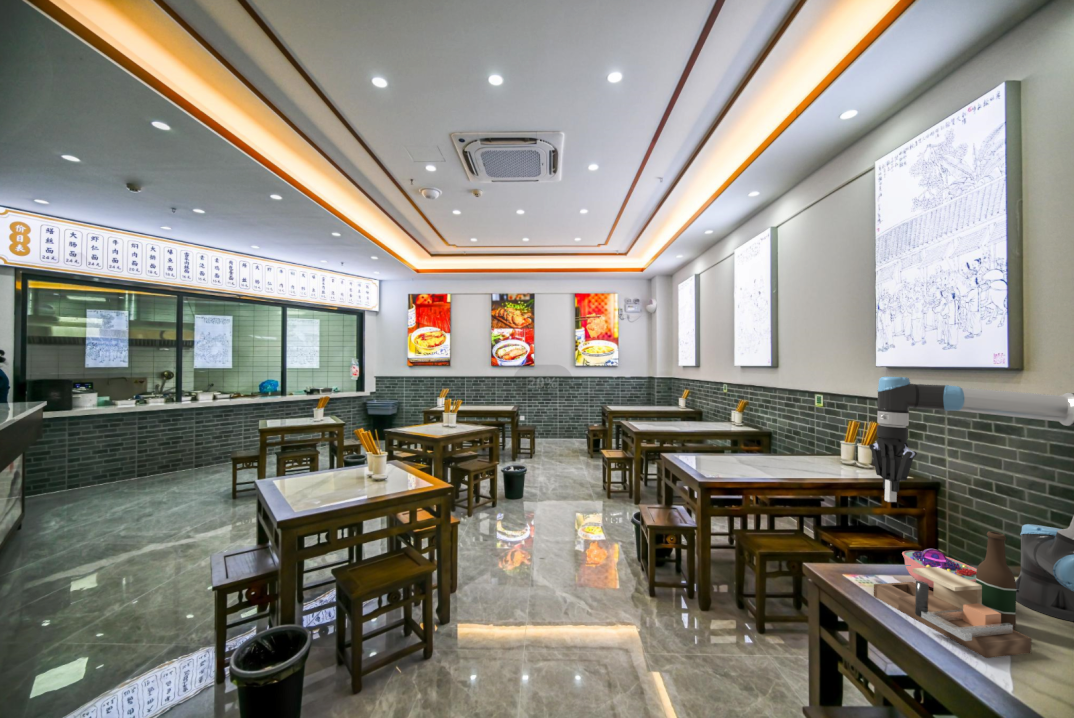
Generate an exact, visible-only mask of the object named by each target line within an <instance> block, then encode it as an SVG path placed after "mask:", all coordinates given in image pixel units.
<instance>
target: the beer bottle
mask: <svg viewBox="0 0 1074 718" xmlns="http://www.w3.org/2000/svg"><path fill="white" fill-rule="evenodd" d="M986 536H987V544H986V546H987V547H986V554H985V557H984V560H982V561H981V562H980V563H979V564H978V565H977V567H976V569H977V572H976V583H978V584H980V585H982V605H983V606H986V607H988V608H990V609H992V610H994V611H997V612H999V613H1001V623H1010V624H1012V625H1013V630H1015V631H1016V624H1017V623H1016V622H1017V621H1016V620H1017V619H1016V618H1017V601H1016V578H1015V576H1014V573H1013V571H1012V570H1011V569H1010V567H1009V566H1008V564H1007V557H1006V543H1005V541H1007V537H1006V535H1005V534H1004V533H1001V532H997V531H994V530H993V531H991V530H990V531H987V533H986Z"/></svg>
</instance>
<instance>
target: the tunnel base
mask: <svg viewBox="0 0 1074 718" xmlns="http://www.w3.org/2000/svg"><path fill="white" fill-rule="evenodd" d="M933 591H934V590H933ZM933 591H932V590H930V589H929V590H928V611H929V612H936V611H947V610H959V609H960V608H958V607H956V606H954V605H952V604H950V603H947V602H945V601H943V600H941V599H939V598H937V597H935V596H933ZM873 597H874V598H876V599H878V600H880V601H881V600H882V602H883V603H885V604H887V605H889V606H890V607H892V608H894V609H896V610H898V611H899V612H902V613H904V614H905V615H907V616H909V617H911V618H913V619H914V620H916V621H918V622H920V623H921V624H923V625H925V626H927V627H929V628H930V629H932V630H934V631H936V632H938V633H939V634H941V635H943V636H945V637H947V638H948V639H950V640H953V641H955V642H956V643H958V644H960V645H961V646H963V647H965V648H967V649H968V650H970V651H972V652H974V653H976V654H978V656H981V657H983V658H984V659H985V658H986V659H991V658H999V657H1008V656H1015V655H1016V656H1017V655H1025V654H1026V655H1027V654H1031V653H1032V637H1029V636H1028V635H1026V634H1023V633H1021V632H1019V631H1017V630H1016V629H1015V630H1013V633H1009V634H999V635H989V636H979V637H972V640H971V641H964V640H962V639H961V638H959V637H957V636H955V635H953V634H951V633H949V632H948V631H946V630H944V629H942V628H940V627H938V626H937V625H935V624H933V623H931V622H929V621H927V620H925V619H924V618H922V617H919V616H917V615H916V614H915V599H916V582H914V581H905V582H903V581H902V582H889V583H887V582H886V583H875V584H873ZM948 622H950V623H952V624H954V625H956V626H958V627H969V626H973V625H971V624H969V623H967V622H965V621H963V619H960V620H949V621H948Z"/></svg>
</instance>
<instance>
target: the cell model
mask: <svg viewBox="0 0 1074 718" xmlns="http://www.w3.org/2000/svg"><path fill="white" fill-rule="evenodd" d="M901 554H902V556H903V558H904V566H905V565H911V566H905V568H906V570H907V572H908V573H909V575H910V576H911V578H912V579H914V580H915V581H922V582H925V583H927V584H928V585H929V587H930V588H931V589H934V581H931V580H929V579H927V578H925V577H923V576H920V575H918V574H916V573H914V572H913V568H930V567H939V568H942V569H944V570H947V571H949V572H951V573H954V574H956V575H959V576H961V577H963V578H966V579H968V580H971V581H973V582H975V583H976V572H977V567H974V566H971V565H968V564H966V563H964V562H962V561H959V560H958V559H957V560H956V559H954V558H952V557H948V556H946V555H945V554H944V552H941V551H940V550H938V549H935V548H926V549H924V550H921V551H920V550H905V551H902V553H901Z"/></svg>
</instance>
